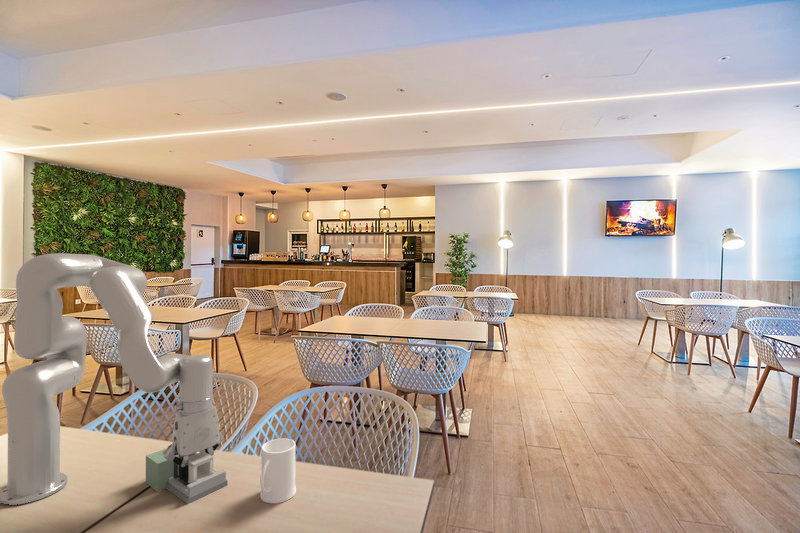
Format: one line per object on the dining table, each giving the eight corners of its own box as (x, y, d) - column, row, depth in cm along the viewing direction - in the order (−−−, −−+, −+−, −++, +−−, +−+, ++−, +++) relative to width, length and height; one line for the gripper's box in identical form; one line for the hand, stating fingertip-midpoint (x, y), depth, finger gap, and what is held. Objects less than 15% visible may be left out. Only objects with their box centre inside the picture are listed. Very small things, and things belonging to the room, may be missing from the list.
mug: (273, 515, 88) (274, 462, 88) (243, 507, 91) (243, 456, 91) (302, 487, 100) (303, 440, 100) (274, 481, 102) (274, 435, 102)
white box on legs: (213, 477, 100) (213, 456, 100) (193, 485, 96) (193, 464, 96) (197, 467, 104) (197, 447, 104) (177, 475, 100) (178, 455, 100)
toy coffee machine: (145, 482, 101) (145, 451, 101) (199, 460, 113) (199, 433, 113) (178, 508, 91) (179, 474, 91) (234, 481, 102) (234, 451, 102)
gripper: (167, 418, 91) (166, 496, 91) (235, 398, 105) (234, 466, 105) (153, 411, 95) (152, 485, 95) (220, 392, 109) (219, 457, 109)
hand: (195, 474), depth 100 cm, fingers closed on white box on legs, 5 cm apart
